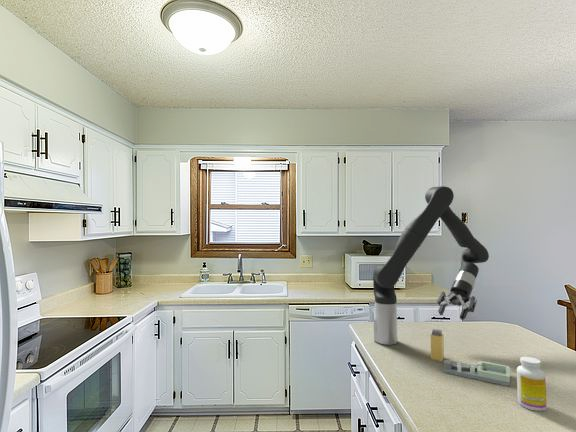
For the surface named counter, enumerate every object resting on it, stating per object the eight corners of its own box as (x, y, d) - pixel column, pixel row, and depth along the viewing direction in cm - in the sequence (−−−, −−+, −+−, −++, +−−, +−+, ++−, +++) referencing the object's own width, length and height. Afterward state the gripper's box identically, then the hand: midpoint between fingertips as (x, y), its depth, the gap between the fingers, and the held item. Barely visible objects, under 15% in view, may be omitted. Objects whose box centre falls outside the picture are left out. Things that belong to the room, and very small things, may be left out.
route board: (443, 372, 116) (443, 363, 116) (447, 363, 123) (447, 354, 123) (510, 386, 105) (509, 376, 105) (509, 375, 113) (509, 365, 113)
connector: (431, 358, 127) (430, 331, 127) (432, 355, 131) (432, 328, 131) (442, 361, 125) (441, 333, 125) (444, 357, 128) (443, 330, 129)
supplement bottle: (551, 413, 90) (550, 365, 91) (524, 411, 92) (523, 363, 92) (538, 400, 97) (537, 355, 97) (513, 398, 98) (512, 354, 98)
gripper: (443, 277, 146) (430, 307, 139) (478, 281, 135) (465, 314, 127) (450, 287, 149) (437, 318, 142) (484, 292, 138) (472, 325, 131)
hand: (450, 316), depth 135 cm, fingers open, 8 cm apart
